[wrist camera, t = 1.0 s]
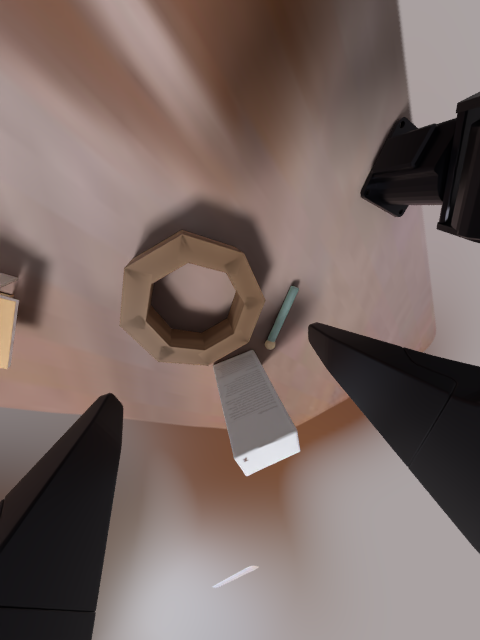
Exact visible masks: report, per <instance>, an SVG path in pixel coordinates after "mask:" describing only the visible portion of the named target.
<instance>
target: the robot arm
mask: <svg viewBox="0 0 480 640" xmlns="http://www.w3.org/2000/svg"><path fill="white" fill-rule="evenodd" d="M456 113H457V118H455V119H452V120H449V121H446V122H442V123H439V124H432V125H428V126H425V127H422V128H419V129H418V128H417V127H416V126H415V125H414V124H412V123H411V122H410V121H409V120H408V119H407V118H405V117H403V118H400V119H398V120H397V121H396V123H395V124H394V126H393V128H392V130H391V132H390V134H389V136H388V138H387V140H386V142H385V144H384V146H383V149H382V151H381V153H380V155H379V157H378V159H377V161H376V163H375V165H374V167H373V169H372V171H371V173H370V175H369V177H368V179H367V181H366V183H365V185H364V187H363V189H362V191H361V197H362V198H363V199H365V200H367V201H368V202H370V203H372V204H374V205H375V206H377V207H379V208H381V209H382V210H384V211H386V212H388V213H390V214H391V215H393V216H395V217H401V216H402V215H403V214H404V212H405V210H406V209H407V207H408V205H442V208H441V213H440V219H439V222H438V224H437V229H438V230H441V231H444V232H447V233H450V234H453V235H456V236H459V237H462V238H465V239H468V240H471V241H473V242H477V243H480V92H478V93H477V94H475V95H472V96H470V97H469V98H467V99H465V100H463V101H461V102H459V103H457V109H456ZM400 124H401V126H400ZM366 191H367V194H366ZM399 211H400V212H399ZM308 338H309V342H310V344H311V346H312V347H313V349H314V350H315V352H316V353H317V355H318V356H319V358H320V359H321V361H322V362H323V364H324V365H325V367H326V368H327V370H328V371H329V372H330V373H331V375H332V376H333V377H334V378H335V379H336V381H337V382H338V383H339V384H340V386H341V387H342V388H343V389H344V390H345V392H346V393H347V394H348V395H349V396H350V398H351V399H352V400H353V401H354V402H355V404H356V405H357V406H358V407H359V408H360V410H361V411H362V412H363V413H364V415H365V416H366V417H367V418H368V419H369V421H370V422H371V423H372V424H373V426H374V427H375V428H376V429H377V430H378V431H379V433H380V434H381V435H382V436H383V438H384V439H385V440H386V441H387V443H388V444H389V445H390V446H391V447H392V449H393V450H394V451H395V452H396V453H397V455H398V456H399V457H400V458H401V459H402V461H403V462H404V463H405V464H406V466H408V467H409V469H410V471H411V472H412V473H413V474H414V475H415V477H416V478H417V479H418V480H419V482H420V483H421V484H422V485H423V486H424V488H425V489H426V490H427V491H428V492H429V493H430V495H431V496H432V497H433V498H434V500H435V501H436V502H437V503H438V505H439V506H440V507H441V508H442V509H443V511H444V512H445V513H446V514H447V515H448V517H449V518H450V519H451V520H452V522H453V523H454V524H455V525H456V526H457V527H458V529H459V530H460V531H461V532H462V534H463V535H464V536H465V537H466V538H467V540H468V541H469V542H470V543H471V545H472V546H473V547H474V548H475V549H476V550H477V551H478V552H479V553H480V367H479V366H474V365H470V364H466V363H462V362H457V361H453V360H449V359H445V358H441V357H437V356H432V355H429V354H426V353H422V352H418V351H415V350H411V349H408V348H402V347H401V346H397V345H394V344H390V343H387V342H384V341H380V340H377V339H373V338H370V337H366V336H363V335H359V334H356V333H353V332H349V331H346V330H342V329H339V328H335V327H332V326H328V325H325V324H322V323H318V322H316V323H313V324H310V325H309V326H308ZM122 429H123V405H122V404H121V403H120V401H119V400H118V399H117V398H116V397H115V396H114V395H113V394H112V393H108V394H105V395H102V396H100V397H99V398H98V399H97V400H96V401H95V402H94V403H93V404H92V405H91V406H90V407H89V408H88V409H87V410H86V412H85V413H84V414H83V415H82V416H81V417H80V418H79V419H78V420H77V421H76V422H75V423H74V424H73V425H72V426H71V428H70V429H69V430H68V431H67V432H66V433H65V434H64V435H63V436H62V437H61V438H60V439H59V440H58V441H57V442H56V443H55V444H54V445H53V447H52V448H51V449H50V450H49V451H48V452H47V453H46V454H45V455H44V456H43V457H42V458H41V459H40V460H39V461H38V462H37V463H36V465H35V466H34V467H33V468H32V469H31V470H30V471H29V472H28V473H27V474H26V475H25V476H24V477H23V478H22V479H21V481H19V483H18V484H17V485H16V486H15V487H14V488H13V489H12V490H11V491H10V492H9V493H8V494H7V495H6V497H5V499H3V500H1V502H0V640H91V639H92V633H93V627H94V620H95V610H96V606H97V599H98V593H99V587H100V581H101V574H102V568H103V562H104V555H105V549H106V542H107V536H108V530H109V523H110V517H111V510H112V504H113V498H114V491H115V485H116V479H117V472H118V466H119V459H120V453H121V446H122Z"/></svg>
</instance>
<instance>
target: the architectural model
mask: <svg viewBox="0 0 480 640" xmlns="http://www.w3.org/2000/svg"><path fill="white" fill-rule="evenodd" d="M17 280H18V278H17V277H14V276H11V275H7V274H4V273H1V272H0V288H1V287H3V286H6V285H8V284H10V283H12V282H14V281H17ZM13 297H14V295H7V294H4V293H0V368H4V369H8V368H9V367H10V366H11V358H12V351H13V343H14V335H15V327H16V319H17V312H18V304H19V300H17V299H13Z"/></svg>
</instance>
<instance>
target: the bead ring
mask: <svg viewBox="0 0 480 640" xmlns="http://www.w3.org/2000/svg"><path fill="white" fill-rule="evenodd" d="M187 263H191V264H194V265H198V266H202V267H206V268H210V269H213V270H217V271H221V272H225V273H226V274H227V275H228V277H229V279H230V281H231V283H232V285H233V286H234V288H235V290H236V293H235V296H234V299H233V302H232V305H231V308H230V311H229V314H228V317H227V319H225V320H223V321H221V322H220V323H218V324H216V325H214V326H213V327H211V328H209V329H208V330H206V331H204V332H202V333H200V332H193V331H185V330H178V329H171V328H170V326H169V325H168V324H167V323H166V322H165V321H164V320H163V318H162V317H161V316H160V315H159V314H158V313H157V312H156V311H155V309H154V308H153V307H152V306H151V298H152V292H153V285H154V282H156V281H158V280H159V279H161V278H163V277H165V276H166V275H168V274H170V273H171V272H173V271H175V270H177V269H178V268H180V267H182V266H183V265H185V264H187ZM264 303H265V298H264V296H263V294H262V292H261V290H260V287H259V285H258V283H257V281H256V279H255V276H254V274H253V272H252V270H251V268H250V266H249V263H248V261H247V259H246V257H245V255H244V253H243V252H241V251H240V250H238V249H237V248H236V247H234V246H231V245H228V244H225V243H221V242H218V241H215V240H212V239H209V238H206V237H203V236H200V235H197V234H193V233H190V232H187V231H184V230H181V231H179V232H177V233H176V234H174V235H172V236H171V237H169V238H167V239H165V240H164V241H162V242H160V243H159V244H157V245H155V246H153V247H152V248H150V249H148V250H147V251H145V252H143V253H142V254H140V255H138V256H136V257H135V258H133V259H132V260H131V261H130V262H129V263H128V265H127V266H126V267H125V268H124V276H123V289H122V301H121V314H120V327H121V328H122V329H123V330H125V331H126V332H127V333H128V334H129V335H130V336H131V337H132V338H133V339H134V340H135V341H136V342H137V343H138V344H140V345H141V346H142V347H143V348H144V349H145V350H146V351H147V352H148V353H149V354H150V355H151V356H152V357H154V358H155V359H156V360H157V361H158V362H166V363H179V364H193V365H206V366H208V365H210V364H212V363H214V362H215V361H217V360H219V359H221V358H222V357H224V356H226V355H228V354H229V353H231V352H233V351H235V350H236V349H238V348H240V347H242V346H243V345H245V344H247V343H249V340H250V338H251V335H252V333H253V330H254V328H255V325H256V323H257V320H258V318H259V315H260V313H261V310H262V308H263V305H264Z"/></svg>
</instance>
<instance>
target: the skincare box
mask: <svg viewBox="0 0 480 640" xmlns="http://www.w3.org/2000/svg"><path fill="white" fill-rule="evenodd" d="M213 368H214V373H215V377H216V381H217V386H218V390H219V395H220V399H221V403H222V408H223V412H224V416H225V421H226V425H227V429H228V433H229V438H230V442H231V447H232V451H233V456H234V459H235V461H236V462H237V463H238V465H239V466H240V468H241V469H242V470H243V472H244V473H245V475H246V476H249V475H250V474H252V473H254V472H256V471H259V470H261V469H263V468H265V467H267V466H269V465H271V464H274V463H276V462H278V461H280V460H282V459H285V458H287V457H289V456H291V455H293V454H296V453H298V452H300V446H299V439H298V434H297V429H296V427H295V426H294V424H293V422H292V420H291V418H290V417H289V415H288V413H287V411H286V409H285V408H284V406H283V404H282V402H281V400H280V398H279V397H278V395H277V393H276V391H275V389H274V387H273V385H272V383H271V382H270V380H269V378H268V376H267V374H266V372H265V370H264V368H263V367H262V365H261V363H260V361H259V359H258V357H257V355H256V354H255V352H254V350H250V351H248V352H245V353H243V354H240V355H238V356H235V357H233V358H230V359H228V360H225V361H223V362H220V363H218V364H215V365H213Z"/></svg>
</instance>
